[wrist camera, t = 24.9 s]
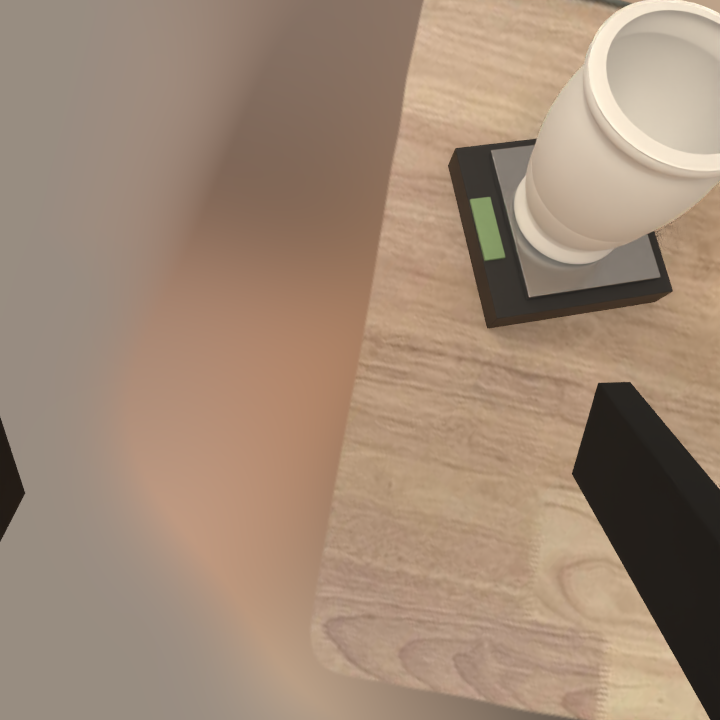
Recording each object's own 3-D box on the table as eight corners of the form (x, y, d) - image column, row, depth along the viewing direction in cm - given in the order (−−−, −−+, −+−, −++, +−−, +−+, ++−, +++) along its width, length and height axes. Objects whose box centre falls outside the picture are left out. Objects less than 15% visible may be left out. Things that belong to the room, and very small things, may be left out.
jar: (475, 234, 46) (557, 104, 31) (533, 129, 48) (634, -36, 34) (603, 304, 45) (746, 207, 31) (655, 194, 48) (810, 56, 33)
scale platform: (487, 155, 48) (490, 149, 47) (612, 140, 49) (617, 134, 49) (525, 300, 46) (529, 297, 45) (655, 280, 47) (661, 276, 46)
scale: (448, 165, 51) (455, 146, 48) (607, 146, 52) (623, 126, 50) (487, 328, 47) (497, 318, 45) (655, 302, 49) (674, 290, 47)
